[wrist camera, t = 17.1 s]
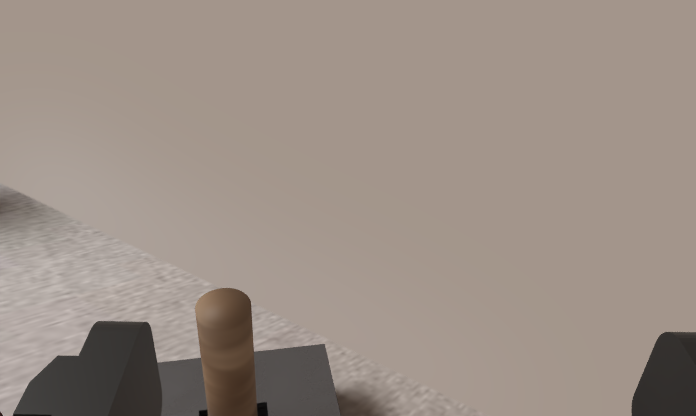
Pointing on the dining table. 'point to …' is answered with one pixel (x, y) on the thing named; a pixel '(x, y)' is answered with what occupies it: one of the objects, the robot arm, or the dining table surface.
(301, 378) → the grey square hole block
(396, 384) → the dining table surface
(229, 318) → the pin
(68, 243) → the dining table surface
